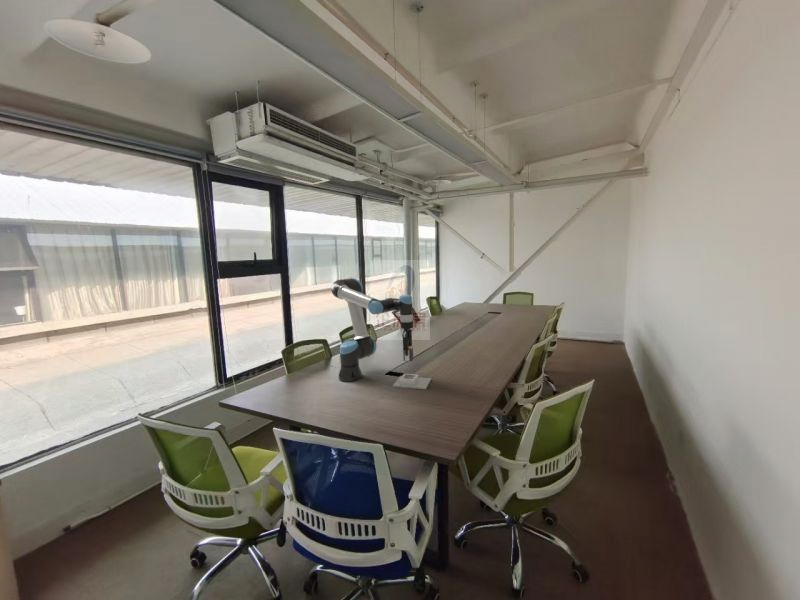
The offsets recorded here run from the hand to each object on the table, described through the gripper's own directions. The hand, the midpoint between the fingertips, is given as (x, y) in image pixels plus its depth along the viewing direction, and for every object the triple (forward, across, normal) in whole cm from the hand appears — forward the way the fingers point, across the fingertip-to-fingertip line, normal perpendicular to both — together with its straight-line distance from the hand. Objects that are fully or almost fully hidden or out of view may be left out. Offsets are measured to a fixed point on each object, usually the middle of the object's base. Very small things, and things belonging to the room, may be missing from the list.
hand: (408, 359), depth 202 cm
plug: (0, 0, 0) cm, 0 cm away
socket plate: (+15, 0, -2) cm, 15 cm away
